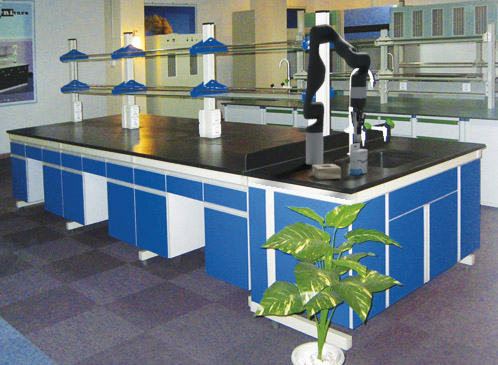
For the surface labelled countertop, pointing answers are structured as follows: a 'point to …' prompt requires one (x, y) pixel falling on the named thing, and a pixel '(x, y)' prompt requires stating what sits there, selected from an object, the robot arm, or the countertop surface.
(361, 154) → the ink box
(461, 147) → the countertop surface
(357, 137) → the metal pin
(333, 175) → the hole block
